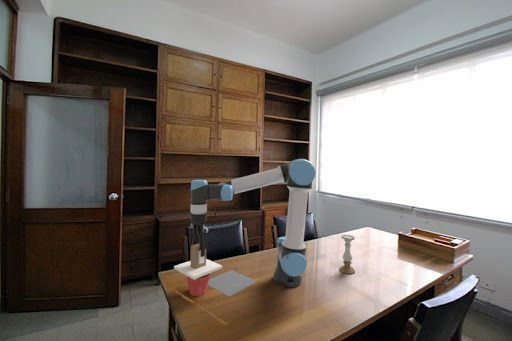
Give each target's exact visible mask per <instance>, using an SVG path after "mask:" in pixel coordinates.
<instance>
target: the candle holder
mask: <svg viewBox="0 0 512 341" xmlns="http://www.w3.org/2000/svg"><path fill="white" fill-rule="evenodd" d="M340 237H341V239H342V240H343V241H344V248H345V249H344V252H343V254H342V263H343V264H342V265H341V266H340V267H338V268H339V272H341V273H343V274H347V275H353V274H355V272H356V269H355V268H354V267H353V266H352V260H353V254H352V253H351V252H352V251H351V248H352V245H351V243H352V241H355V240H356V237H355V236H354V235H350V234H342V235H341V236H340Z"/></svg>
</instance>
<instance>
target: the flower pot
mask: <svg viewBox="0 0 512 341" xmlns="http://www.w3.org/2000/svg"><path fill="white" fill-rule="evenodd" d="M185 276H186V275H185ZM210 277H211V273H209V274H207V275H204V276H202V277H199V278H197V279H194V280H193V279H192V278H190V277H188V276H186V283H187V288H188V291H189V292H188V293H189V295H190V296H193V297H200V296H203V295H205V294H206V293H207V292H208V287H209V286H208V282H209V279H210Z"/></svg>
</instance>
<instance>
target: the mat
mask: <svg viewBox="0 0 512 341" xmlns="http://www.w3.org/2000/svg"><path fill="white" fill-rule="evenodd" d="M257 282H258V280H255V279H253V278H251V277H248V276H246V275H244V274H243V273H239V272H237V271H235V270H231V269H229V270H227V271H226V272H223V273H221V274H219V275H216V276H214V277H211V278H209V282H208V287H211V288H212V289H214V290H216V291H217V292H219V293H221V294H223V295H225V296H226V297H231V296H233V295H235V294H237V293H239V292H241V291H242V290H244V289H246V288H248V287H250V286H252V285H254V284H255V283H257Z"/></svg>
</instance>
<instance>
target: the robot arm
mask: <svg viewBox="0 0 512 341" xmlns="http://www.w3.org/2000/svg"><path fill="white" fill-rule="evenodd" d="M316 172H317V171H316V168H315V165H314V164H313V163H312V162H311V161H309V160H307V159H305V158H298V159H297V158H296V159H293V160H290V161H288V162H286V163H283V164H281V165H278V166H277V167H276V168H275V167H274V168H272V169H268V170H265V171H261V172H257V173H254V174H250V175H245V176H242V177H238V178H234V179H231V180H227V181H221V182H219V183H218V184H210V183H208V181H207V180H206V179H193V180H192V181H191V183H190V222H191V223H189V224H188V232H189V234H188V236H189V238H188V240H189V242H188V243H189V245H190V246H191V245H195V244H198V243H199V246H200V249H198V250H199V262H198V264H201V263H204V256H205V249H206V250H207V249H208V248H209V233H210V228H209V227H206V222H207V220H208V213H207V211H208V201H223V202H226V201H227V202H228V201H232V200H233V195H236V194H239V193H243V192H247V191H251V190H256V189H260V188H262V187H263V188H264V187H267V186H271V185H276V184H278V183H283V184H285V183H286V187H287V188H288V190H289V193H288V194H289V196H288V205H287V206H288V207H287V217H286V227H285V236H280V237H278V238H277V239H276V240H277V243H276V246H277V247H276V267H275V268H274V269H275V270H274V272H273V281H274V282H275V283H277V284H278V285H281V286H283V288H284V287H285V288H295V287H299V286H300V285H301V284H302V283H303V276H302V274H304V273H305V272H306V270H307V269H308V268H307V267H308V261H307V258H306V254H307V245H306V243H305V242H304V239H305V230H306V229H305V228H306V219H307V218H306V216H307V206H308V196H309V192H310V191H311V190H313V182H314V180H315V178H316V176H317V175H316Z"/></svg>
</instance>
